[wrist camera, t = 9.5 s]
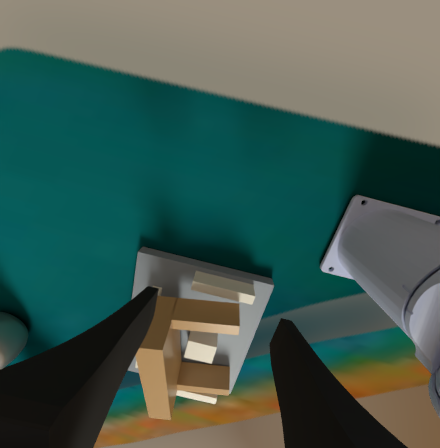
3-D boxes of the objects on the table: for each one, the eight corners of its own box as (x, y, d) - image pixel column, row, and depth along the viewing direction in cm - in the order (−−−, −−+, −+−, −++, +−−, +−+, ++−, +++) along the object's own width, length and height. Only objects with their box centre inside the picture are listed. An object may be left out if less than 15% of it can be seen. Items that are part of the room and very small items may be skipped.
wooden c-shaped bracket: (239, 303, 20) (240, 358, 16) (229, 372, 26) (227, 426, 21) (155, 295, 20) (133, 347, 16) (164, 365, 26) (149, 417, 21)
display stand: (271, 278, 22) (278, 300, 19) (230, 384, 28) (230, 414, 25) (142, 246, 22) (127, 263, 19) (127, 360, 28) (113, 387, 24)
